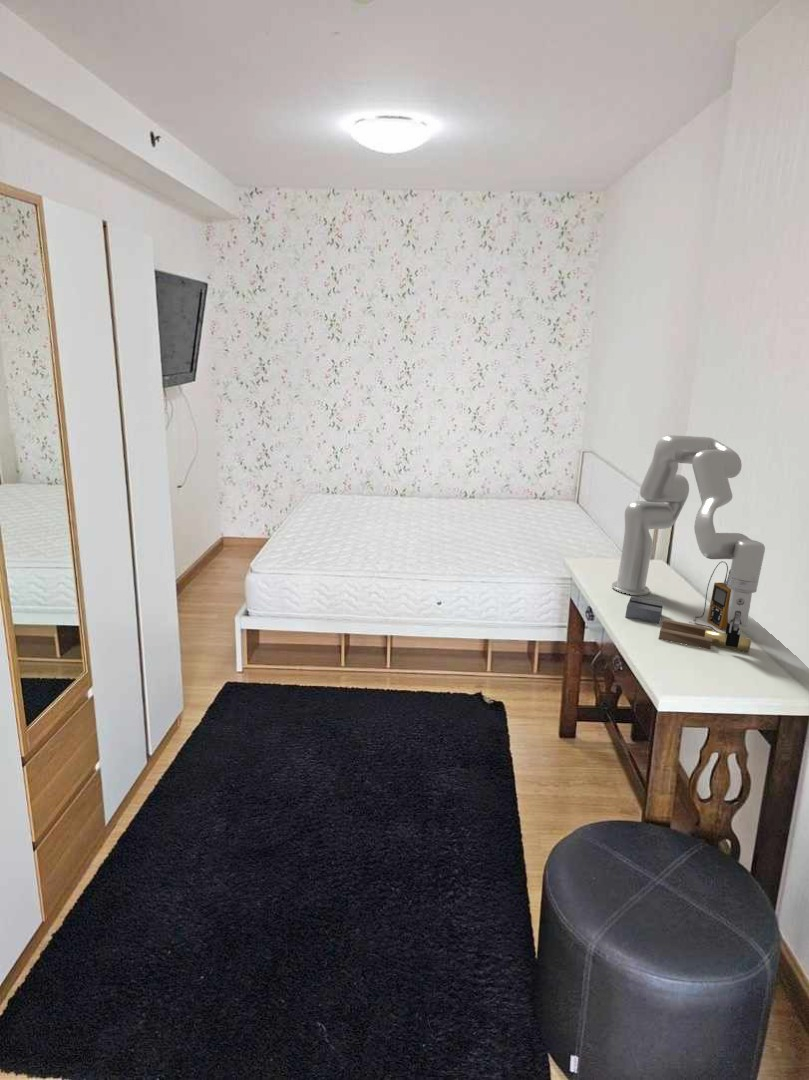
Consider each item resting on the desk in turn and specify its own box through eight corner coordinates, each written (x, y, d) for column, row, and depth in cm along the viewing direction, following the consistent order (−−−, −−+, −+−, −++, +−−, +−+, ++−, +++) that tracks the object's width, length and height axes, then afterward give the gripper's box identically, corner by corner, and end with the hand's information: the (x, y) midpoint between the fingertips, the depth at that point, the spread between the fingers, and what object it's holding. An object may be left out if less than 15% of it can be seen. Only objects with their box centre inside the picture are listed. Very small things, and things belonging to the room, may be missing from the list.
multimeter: (679, 617, 229) (690, 556, 223) (707, 617, 231) (719, 557, 226) (707, 635, 215) (719, 571, 210) (736, 635, 217) (749, 571, 212)
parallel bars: (661, 626, 220) (663, 618, 219) (711, 636, 214) (712, 628, 214) (658, 638, 209) (660, 630, 209) (710, 649, 204) (712, 641, 204)
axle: (702, 645, 209) (704, 636, 207) (704, 636, 212) (706, 626, 209) (747, 655, 205) (750, 645, 202) (748, 645, 207) (751, 635, 205)
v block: (629, 608, 234) (631, 596, 233) (661, 614, 230) (663, 602, 229) (625, 617, 225) (627, 605, 224) (658, 624, 221) (660, 612, 220)
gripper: (758, 594, 193) (746, 654, 198) (756, 578, 209) (744, 633, 213) (728, 589, 196) (716, 647, 200) (728, 573, 212) (717, 628, 216)
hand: (731, 640), depth 207 cm, fingers open, 9 cm apart
